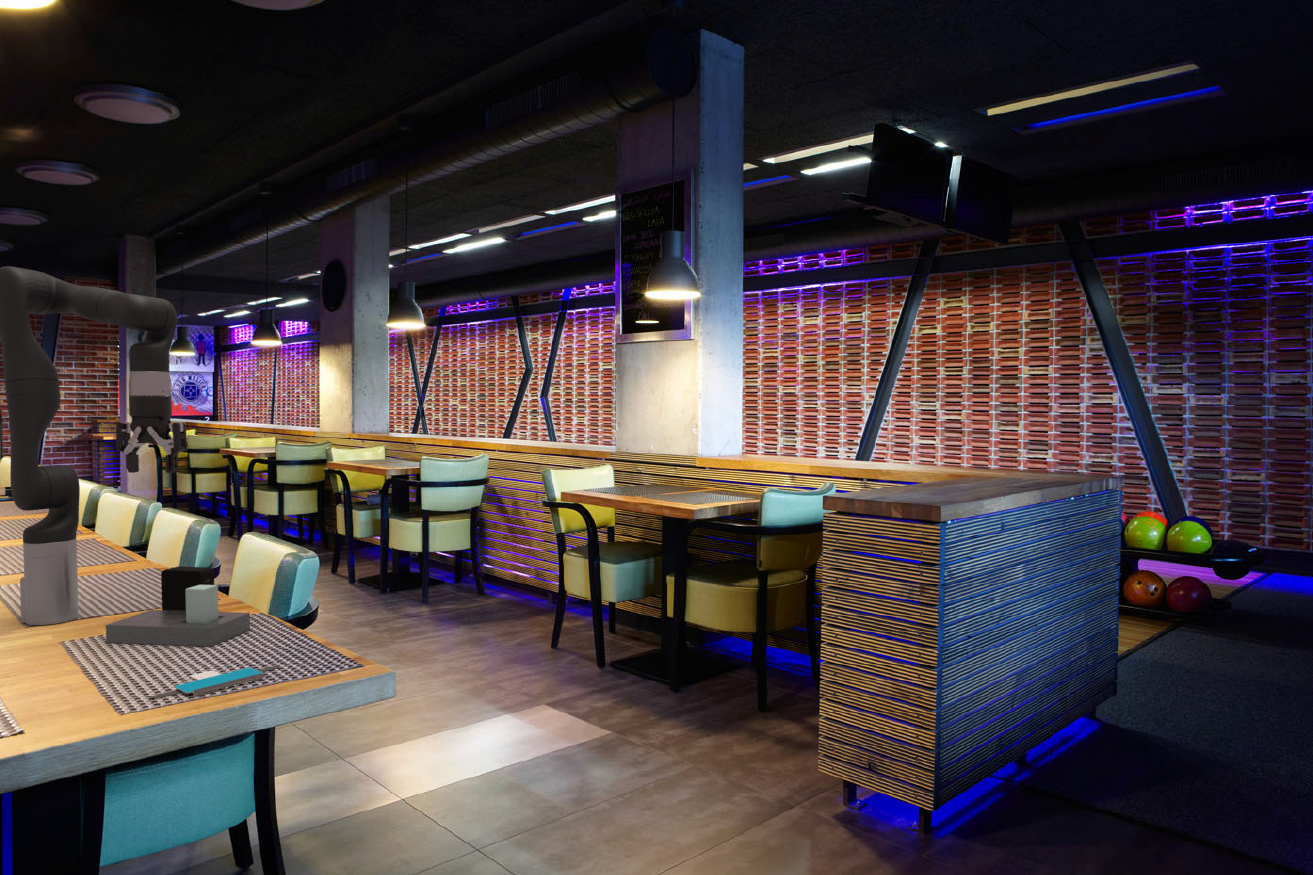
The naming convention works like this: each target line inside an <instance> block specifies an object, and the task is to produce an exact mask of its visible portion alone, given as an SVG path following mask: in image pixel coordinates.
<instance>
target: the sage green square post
mask: <svg viewBox="0 0 1313 875" xmlns="http://www.w3.org/2000/svg"><path fill="white" fill-rule="evenodd" d="M218 612H219V585H218V584H214V585H197V586H194V587H190V588H187V589H186V623H203V624H207V623H209V622H212V621H214V620H217V619H219V617H218Z"/></svg>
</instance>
